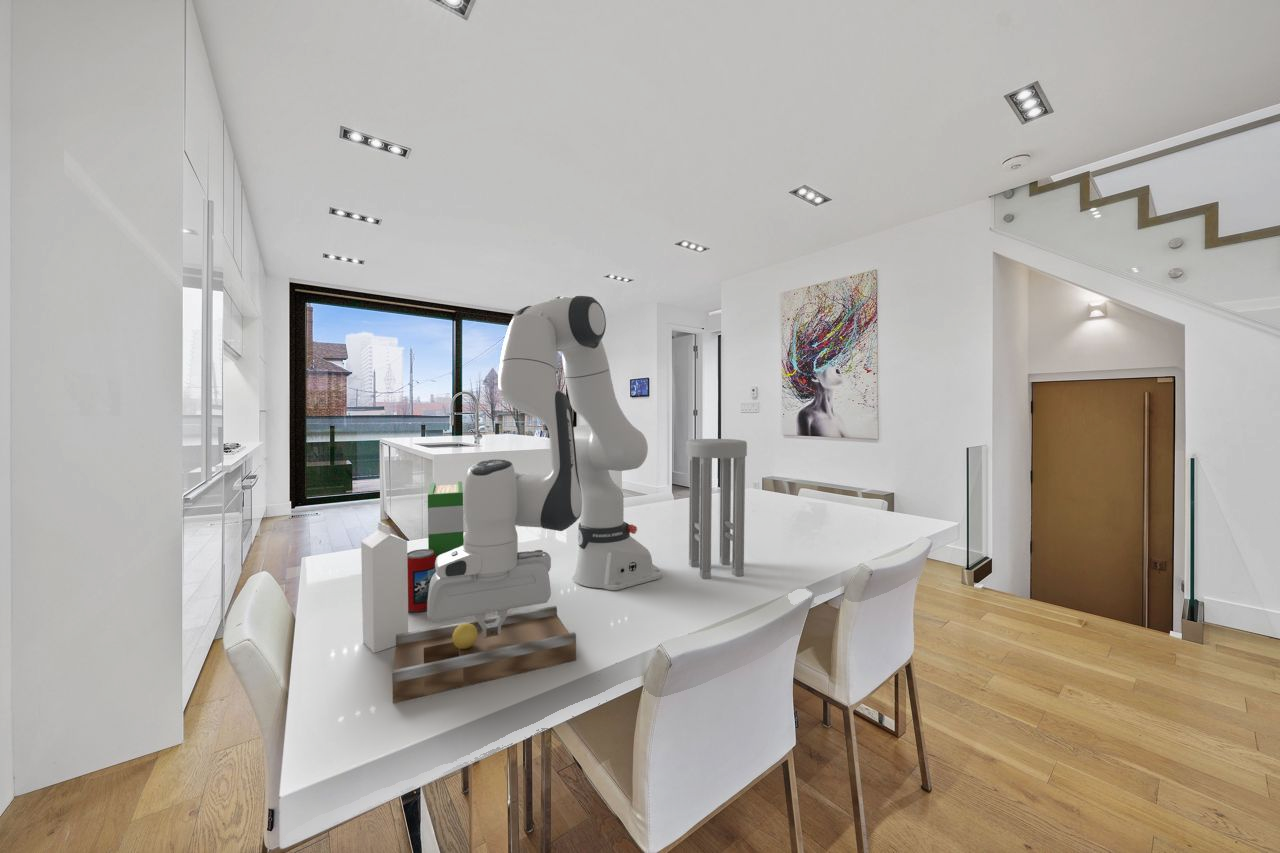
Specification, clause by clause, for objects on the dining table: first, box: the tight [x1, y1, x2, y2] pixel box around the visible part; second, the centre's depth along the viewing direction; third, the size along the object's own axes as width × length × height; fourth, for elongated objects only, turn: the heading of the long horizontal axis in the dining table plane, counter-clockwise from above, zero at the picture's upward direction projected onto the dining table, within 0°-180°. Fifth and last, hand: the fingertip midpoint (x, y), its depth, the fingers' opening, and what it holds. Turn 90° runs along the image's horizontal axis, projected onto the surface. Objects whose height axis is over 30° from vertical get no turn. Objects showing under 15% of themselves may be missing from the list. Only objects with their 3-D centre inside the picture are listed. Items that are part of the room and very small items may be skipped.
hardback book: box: [427, 481, 464, 557], centre depth 115 cm, size 18×7×24 cm, turn 21°
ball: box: [452, 623, 478, 649], centre depth 79 cm, size 4×4×4 cm
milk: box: [360, 521, 409, 654], centre depth 87 cm, size 6×6×22 cm
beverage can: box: [407, 548, 437, 613], centre depth 102 cm, size 7×7×12 cm
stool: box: [685, 438, 748, 580], centre depth 126 cm, size 16×16×35 cm
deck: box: [391, 605, 577, 704], centre depth 81 cm, size 28×13×4 cm, turn 115°
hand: (491, 635), depth 81 cm, fingers closed
